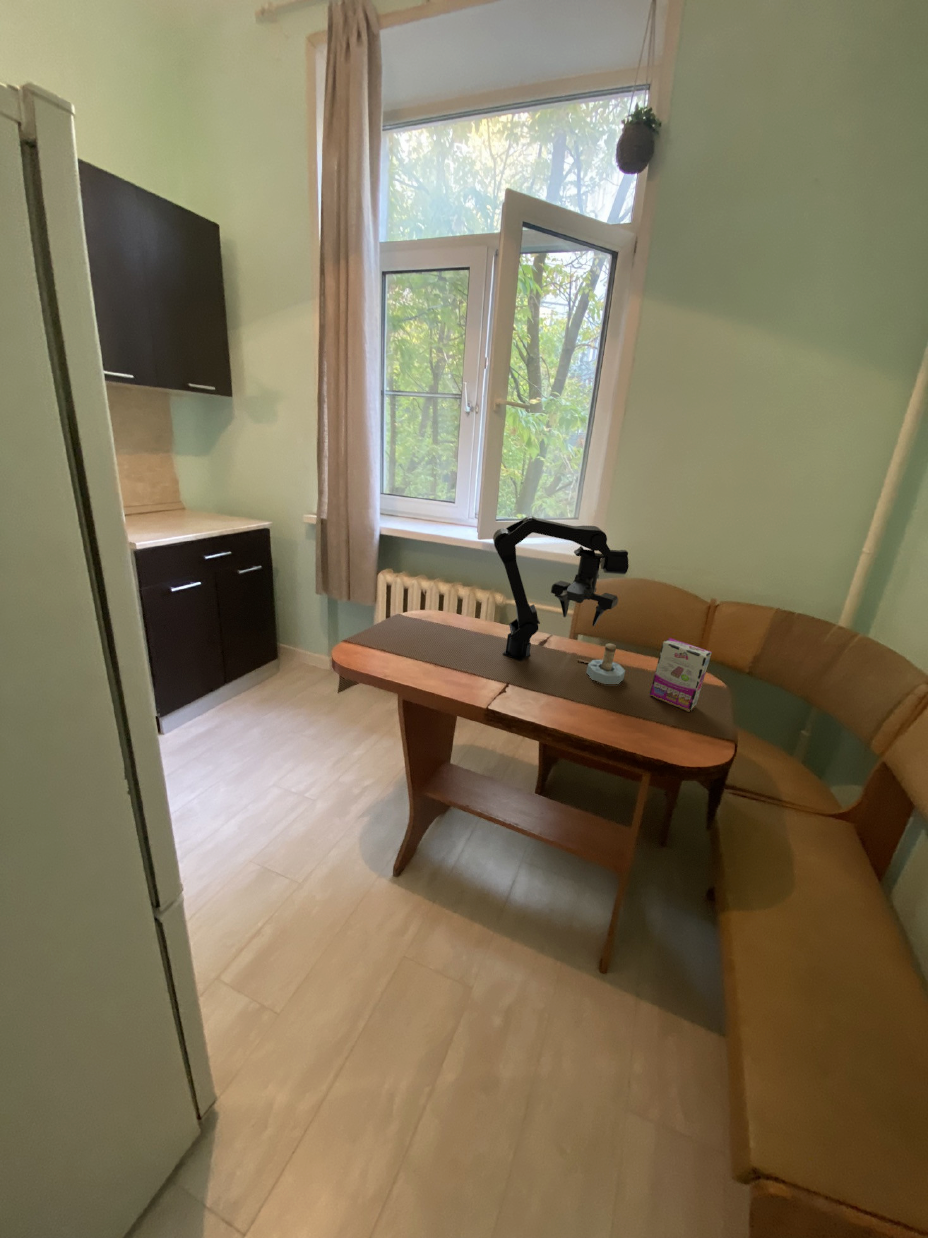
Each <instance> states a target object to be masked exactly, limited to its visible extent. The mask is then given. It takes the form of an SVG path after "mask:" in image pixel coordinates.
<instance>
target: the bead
mask: <svg viewBox="0 0 928 1238" xmlns="http://www.w3.org/2000/svg"><path fill="white" fill-rule="evenodd" d="M602 661H603V659H592V660H591V661H589V662H590V663H589V664H587V667H586V672H585V674H586V673H587V674H588V675H589V676H590V677H589V676H588V675H587V674H586V675H587V676H588V677H589V679H590V678H591V679H592V680H596V681H599V682H601V683H604V684H619V683H620V682H621V681H622V682H623V680H624V678H625V672H626V670H625V669H624V668H623V667H622V666H621V665H620V663H617V662H614V661H613V663H612V668H611V671H605V670H602V669H601V666H602ZM591 679H590V680H591ZM592 680H591V681H592ZM620 684H621V683H620ZM620 684H619V685H620Z"/></svg>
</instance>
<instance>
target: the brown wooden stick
mask: <svg viewBox="0 0 928 1238" xmlns="http://www.w3.org/2000/svg"><path fill="white" fill-rule="evenodd" d="M578 661H579V662H578ZM577 662H578V663H581V662H584V663H583V664H585V663H588V664H589V663H590V662H591V661H587V660H584V659H580V658H578V659H577ZM588 664H587V665H588Z"/></svg>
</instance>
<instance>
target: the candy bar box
mask: <svg viewBox="0 0 928 1238" xmlns="http://www.w3.org/2000/svg"><path fill="white" fill-rule="evenodd" d="M711 658H712V651H710V650H707V649H704V648H701V647H698V646H695V645H692V644H690V643H686V642H685V641H684V642H683V641H680V640H677V639H675V638H672V637H669V638H667V639H666V640H664V641H663V642H662V644H661V648H660V652H659V655H658V660H657V664H656V668H655V672H654V675H653V681H652V684H651V688H650V691H649V696H650V695H654V696H656V697H658V698H662V699H664V700H667V701H669V702H672V703H674V704H676V705H680V706H682V707H685V708H688V709H690V710H691V709H692V708H693V707H694V706H695V705H696V706H697V705H698V704H697V703H698V701H699V698H700V693H701V690H702V687H703V684H704V680H705V676H706V674H707V670H708V668H709V667H708V666H709V664H710V660H711ZM691 711H692V710H691Z"/></svg>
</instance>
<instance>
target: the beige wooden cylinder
mask: <svg viewBox="0 0 928 1238" xmlns="http://www.w3.org/2000/svg"><path fill="white" fill-rule="evenodd" d="M616 649H617V646H616V645H615V644H613V643H606V644H605V648H604V652H603V656H602V660H603V661H602V666H601V669H602V670H605V671H611V668H612V663H613V662H614V658H615V654H616Z"/></svg>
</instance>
